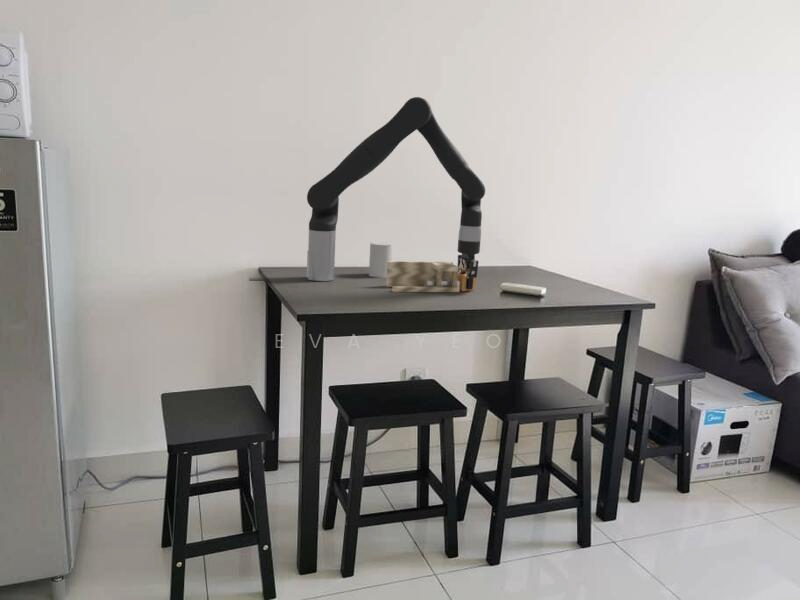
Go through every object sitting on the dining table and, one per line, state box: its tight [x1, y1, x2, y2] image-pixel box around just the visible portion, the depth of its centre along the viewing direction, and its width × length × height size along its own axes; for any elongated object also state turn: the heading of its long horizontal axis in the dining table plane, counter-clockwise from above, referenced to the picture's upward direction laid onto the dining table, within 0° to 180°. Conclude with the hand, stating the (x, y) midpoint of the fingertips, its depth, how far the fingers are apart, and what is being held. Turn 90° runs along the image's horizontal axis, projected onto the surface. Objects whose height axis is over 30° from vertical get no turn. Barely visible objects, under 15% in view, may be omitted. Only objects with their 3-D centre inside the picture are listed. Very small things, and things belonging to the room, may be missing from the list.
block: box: [458, 273, 477, 292], centre depth 216 cm, size 5×5×5 cm
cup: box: [368, 241, 393, 279], centre depth 232 cm, size 8×8×12 cm
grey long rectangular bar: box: [424, 279, 460, 287], centre depth 214 cm, size 12×3×4 cm, turn 108°
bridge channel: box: [385, 260, 460, 293], centre depth 212 cm, size 23×10×8 cm, turn 105°
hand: (465, 287), depth 217 cm, fingers open, 6 cm apart
